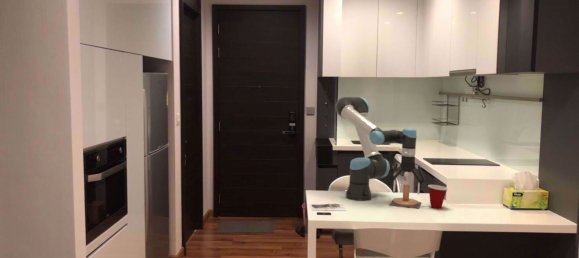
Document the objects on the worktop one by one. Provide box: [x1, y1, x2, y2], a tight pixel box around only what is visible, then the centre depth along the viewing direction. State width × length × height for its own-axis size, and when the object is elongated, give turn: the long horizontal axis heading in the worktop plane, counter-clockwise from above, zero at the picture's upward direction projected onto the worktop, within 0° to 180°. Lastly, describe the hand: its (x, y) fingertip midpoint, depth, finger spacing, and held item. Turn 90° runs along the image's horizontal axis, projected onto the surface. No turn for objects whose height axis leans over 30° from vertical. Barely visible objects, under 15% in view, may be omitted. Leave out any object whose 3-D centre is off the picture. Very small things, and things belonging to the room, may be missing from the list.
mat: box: [388, 199, 422, 210], centre depth 284 cm, size 16×15×1 cm
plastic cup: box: [427, 184, 448, 210], centre depth 278 cm, size 11×11×12 cm
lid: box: [392, 184, 419, 206], centre depth 283 cm, size 14×14×10 cm
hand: (406, 192), depth 283 cm, fingers open, 13 cm apart
